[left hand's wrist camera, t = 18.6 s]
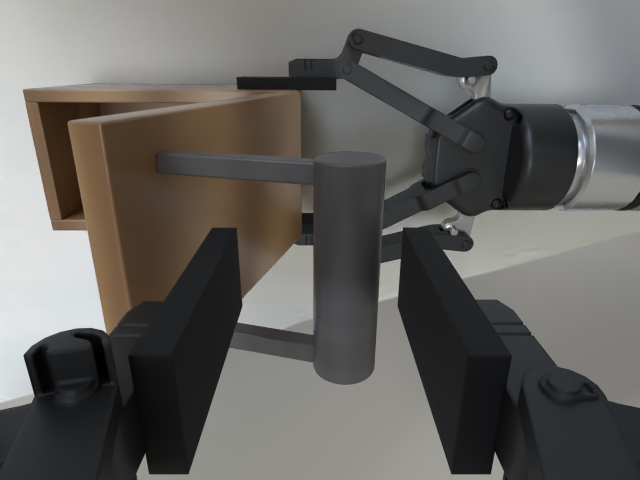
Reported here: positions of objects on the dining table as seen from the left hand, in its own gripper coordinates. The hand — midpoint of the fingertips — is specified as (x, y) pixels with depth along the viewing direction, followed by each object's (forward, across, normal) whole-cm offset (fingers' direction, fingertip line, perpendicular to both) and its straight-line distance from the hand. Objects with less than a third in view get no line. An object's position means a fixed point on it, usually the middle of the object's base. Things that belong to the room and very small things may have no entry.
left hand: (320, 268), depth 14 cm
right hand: (+20, -6, 0) cm, 21 cm away
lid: (+8, -5, 0) cm, 10 cm away
